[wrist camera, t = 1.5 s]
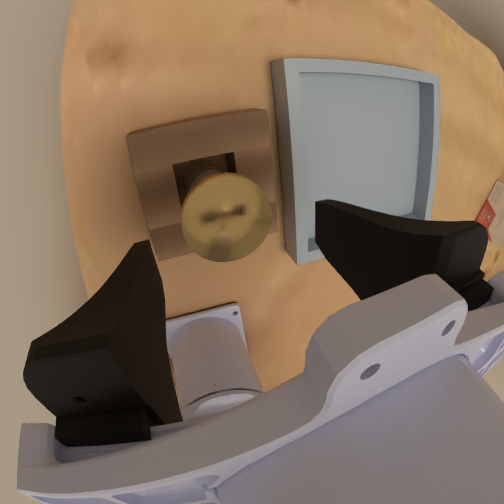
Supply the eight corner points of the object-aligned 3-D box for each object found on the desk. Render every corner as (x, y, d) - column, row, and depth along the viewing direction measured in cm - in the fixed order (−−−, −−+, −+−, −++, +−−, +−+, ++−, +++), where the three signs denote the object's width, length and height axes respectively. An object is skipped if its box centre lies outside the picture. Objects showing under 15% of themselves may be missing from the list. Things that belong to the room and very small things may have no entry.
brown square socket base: (266, 218, 24) (277, 231, 22) (157, 244, 22) (158, 261, 20) (255, 108, 19) (267, 109, 17) (130, 132, 18) (125, 136, 16)
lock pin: (235, 198, 22) (274, 250, 16) (179, 211, 22) (192, 271, 15) (228, 143, 20) (267, 168, 13) (167, 155, 19) (172, 188, 12)
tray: (413, 217, 29) (428, 226, 27) (285, 250, 26) (297, 265, 24) (420, 73, 21) (439, 75, 19) (270, 62, 18) (283, 58, 16)
